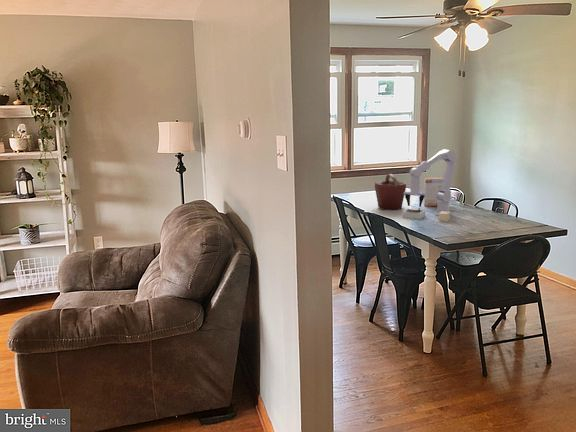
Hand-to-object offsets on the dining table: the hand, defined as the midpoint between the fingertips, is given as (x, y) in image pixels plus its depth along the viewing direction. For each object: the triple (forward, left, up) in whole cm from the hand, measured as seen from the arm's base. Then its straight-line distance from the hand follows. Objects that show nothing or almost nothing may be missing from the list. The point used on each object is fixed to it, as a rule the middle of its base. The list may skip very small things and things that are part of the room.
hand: (414, 206), depth 318 cm
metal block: (0, 0, -7) cm, 7 cm away
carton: (+1, +20, -8) cm, 21 cm away
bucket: (-22, -25, -8) cm, 34 cm away
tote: (0, 0, -7) cm, 7 cm away
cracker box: (-43, +2, -8) cm, 44 cm away
